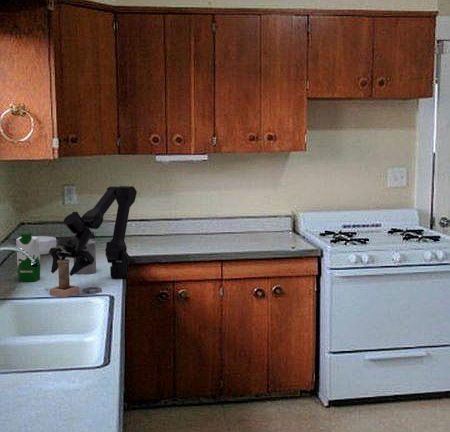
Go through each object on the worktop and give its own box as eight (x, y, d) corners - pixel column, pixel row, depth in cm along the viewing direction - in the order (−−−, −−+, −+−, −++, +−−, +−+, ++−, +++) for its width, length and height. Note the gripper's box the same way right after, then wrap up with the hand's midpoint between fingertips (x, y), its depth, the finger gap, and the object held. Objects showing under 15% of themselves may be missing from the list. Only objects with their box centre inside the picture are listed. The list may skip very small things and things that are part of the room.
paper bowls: (58, 254, 331) (58, 239, 330) (27, 256, 326) (27, 241, 325) (54, 250, 345) (54, 235, 344) (25, 252, 340) (24, 237, 339)
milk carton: (16, 282, 269) (13, 234, 266) (22, 277, 278) (20, 231, 275) (37, 282, 269) (35, 234, 267) (42, 277, 278) (41, 231, 276)
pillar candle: (72, 271, 291) (71, 237, 289) (94, 269, 294) (93, 236, 292) (75, 275, 282) (74, 241, 280) (98, 273, 285) (97, 240, 283)
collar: (63, 290, 254) (63, 284, 253) (78, 293, 250) (78, 286, 250) (49, 295, 247) (49, 288, 247) (65, 297, 243) (64, 290, 243)
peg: (69, 292, 251) (67, 259, 250) (71, 294, 248) (70, 260, 246) (57, 293, 250) (56, 259, 248) (59, 295, 246) (58, 261, 244)
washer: (101, 288, 257) (101, 286, 257) (102, 292, 250) (102, 290, 250) (82, 289, 255) (82, 287, 255) (83, 293, 249) (83, 291, 248)
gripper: (51, 226, 253) (31, 259, 245) (88, 229, 244) (68, 263, 236) (66, 243, 261) (47, 276, 253) (102, 247, 252) (84, 280, 244)
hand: (61, 273), depth 246 cm, fingers open, 9 cm apart
